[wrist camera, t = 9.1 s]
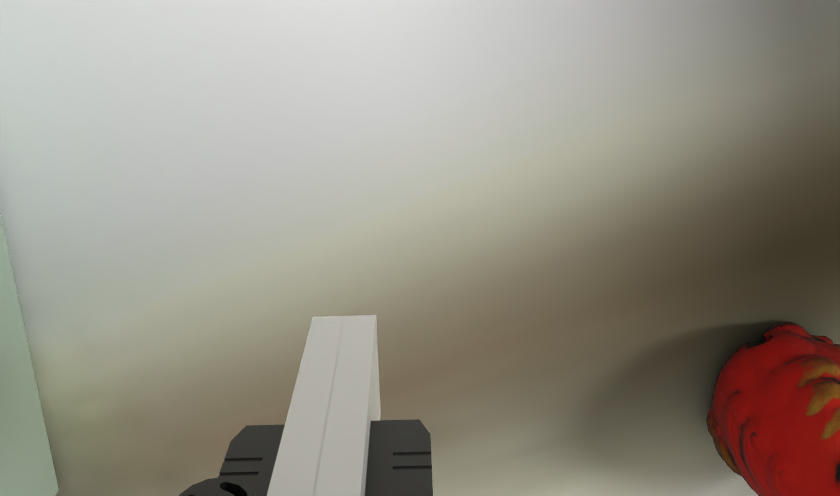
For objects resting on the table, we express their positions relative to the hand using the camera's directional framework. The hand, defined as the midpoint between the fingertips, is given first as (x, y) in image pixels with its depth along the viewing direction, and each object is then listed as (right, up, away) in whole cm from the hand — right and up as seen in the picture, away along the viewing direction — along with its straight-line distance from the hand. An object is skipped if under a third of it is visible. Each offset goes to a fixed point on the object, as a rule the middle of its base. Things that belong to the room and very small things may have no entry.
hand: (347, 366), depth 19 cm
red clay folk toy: (+18, -4, +18) cm, 25 cm away
